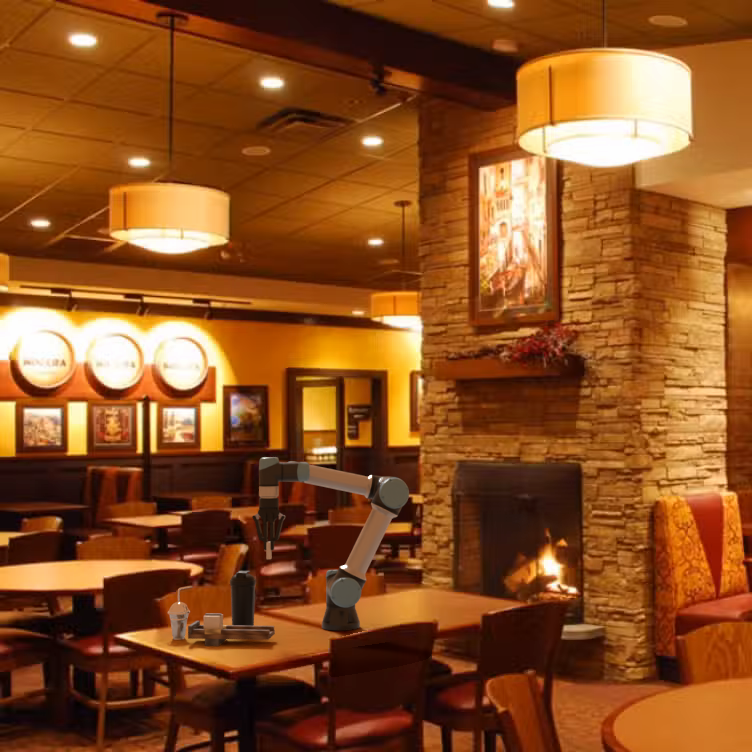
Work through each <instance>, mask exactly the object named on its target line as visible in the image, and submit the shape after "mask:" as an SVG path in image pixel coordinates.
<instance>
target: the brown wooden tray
mask: <svg viewBox="0 0 752 752" xmlns="http://www.w3.org/2000/svg"><path fill="white" fill-rule="evenodd" d="M187 632H188V633H187V639H190V640H192V639H193V640H194V639H195V640H196V639H197V640H199V639H200V640H203V639H204V646H205V647H219V646H221V645H222V644H224V642H226V641H227V640H259V641H261V640H263V641H264V640H265V641H266V640H267V641H269V640H270V639H271V638H272V637H273V636H274V635H276V634H275V633H276V631H275V625H254V626H242V625H232V624H231V625H229V624H227V625H225V624H223V629H204V624H201V620H195V621H194V622H193V623H191V624H190V625H187ZM226 639H227V640H226ZM225 640H226V641H225ZM220 644H221V645H220Z"/></svg>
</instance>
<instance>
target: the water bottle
mask: <svg viewBox="0 0 752 752" xmlns="http://www.w3.org/2000/svg"><path fill="white" fill-rule="evenodd" d="M250 572H251V571H250V570H238V572H236V573H235V574H234V575H232V577H231V578H230V579H229V580H230V581H229V585H230V598H231V599H230V600H231V601H230V602H231V625H242V626H255V602H256V601H255V597H256V596H255V595H256V594H255V593H256V585H257V579H256V578H255V576H254V575H252V574H250Z"/></svg>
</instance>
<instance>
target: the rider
mask: <svg viewBox="0 0 752 752" xmlns="http://www.w3.org/2000/svg"><path fill="white" fill-rule="evenodd" d="M203 625H204V629H223V625H224V614H222V613H217V612H216V613H210V612H209V613H205V614H204V615H203Z"/></svg>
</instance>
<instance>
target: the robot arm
mask: <svg viewBox="0 0 752 752" xmlns="http://www.w3.org/2000/svg"><path fill="white" fill-rule="evenodd" d="M258 463H259V464H258V465H259V466H258V486H259V487H258V489H259V491H258V497H259V499H258V508H259V509H258V511H257V513H256V514H254V515H252V520H253V521H254V524H255V528H256V532H257V536H258V540H259V541H261V542H263V551H265V552H266V554H265V555H266V560H272V553H273V552H272V551H274V550H275V542H276V541H278V540H279V539H280V536H281V532H282V527H283V523H284V520H285V519H286V517H287V516H286V515H285V514H283V513H281V511H280V509H279V508H280V507H279V506H280V504H279V503H280V502H279V492H280V491H279V489H280V488H279V482H280V483H283V482H286V483H287V482H291V483H295V482H298V483H304V484H308V485H312V486H313V485H314V486H319V487H324V488H326V489H327V488H328V489H333V490H337V491H343V492H347V493H351V494H352V493H353V494H356V495H362V496H364V497H365V498H366V499H369V500H371V503H370V505H371V508H372V509H371V511H370V513H369V514H368V517H367V519H366V521H365V523H364V525H363V527H362V529H361V531H360V533H359V535H358V537H357V539H356V541H355V543H354V545H353V547H352V550H351V552H350V553H349V556H348V558H347V560H346V562H345V564H344V565H343V564H342V565H340V566H339V568H338V569H329V570H327V571H326V574H325V579H326V580H325V585H326V586H325V587H326V589H325V590H326V591H325V592H326V593H325V594H326V595H325V596H326V599H325V600H326V601H325V603H326V604H325V605H326V607H325V611H324V615H323V618H322V621H321V628H322V629H323V630H326V631H327V630H328V631H339V632H340V631H353V630H352V629H354V630H357V628H358V629H360V628H361V627H360V626H361V622H360V617H359V615H358V611H357V608H356V604H357V603H358V602H359V600H361V597H362V590H363V588H364V586H365V584H366V582H367V577H366V573H367V571H368V569H369V567H370V565H371V564H372V563H371V562H372V561H373V559H374V556H375V555H376V552H377V550H378V549H379V546H380V544H381V541H382V540H383V538H384V537H385V534H386V532H387V530H388V527H390V526H389V525H390V524H391V521H392V519H395V518H397V517H398V516H399V514H400V512H401V510H402V508H403V507H404V506H405V505H406V504H407V502H408V499H409V498H410V491H409V487H408V485H407V484H406V482H405V481H404V480H403V479H401V478H399V477H397V476H389V475H388V476H381V475H373V474H370V475H369V476H365V475H362V474H357V473H353V472H348V471H342V470H336V469H333V468H327V467H322V466H319V465H313V464H310V463H309V462H306V461H295V460H290V461H288V462H286V461H285V462H281V461H280V459H279V457H278V456H277V457H276V456H275V457H274V456H273V457H271V456H270V457H266V456H264V457H261V458H260V459H259V462H258ZM260 519H261V520H262V524H263V532H262V526H261V523H260ZM277 519H278V524H277V529H276V533H275V522H276V520H277ZM268 531H269V532H268Z"/></svg>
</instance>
